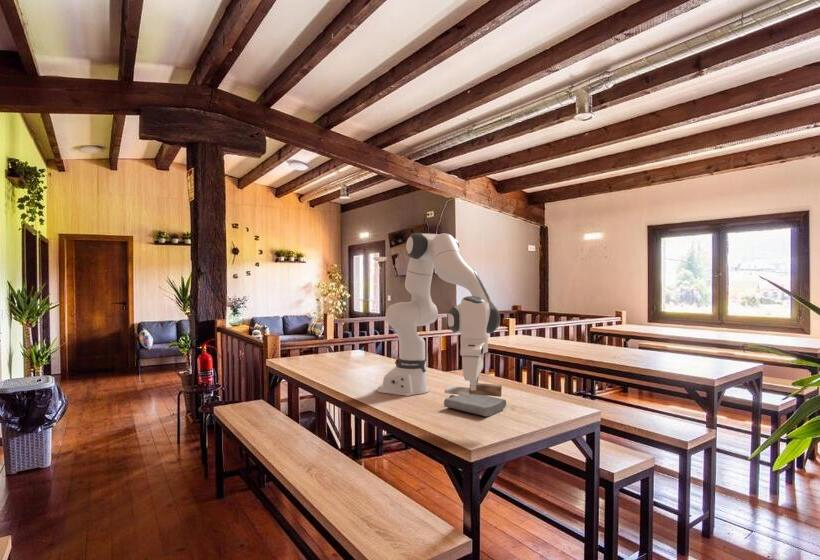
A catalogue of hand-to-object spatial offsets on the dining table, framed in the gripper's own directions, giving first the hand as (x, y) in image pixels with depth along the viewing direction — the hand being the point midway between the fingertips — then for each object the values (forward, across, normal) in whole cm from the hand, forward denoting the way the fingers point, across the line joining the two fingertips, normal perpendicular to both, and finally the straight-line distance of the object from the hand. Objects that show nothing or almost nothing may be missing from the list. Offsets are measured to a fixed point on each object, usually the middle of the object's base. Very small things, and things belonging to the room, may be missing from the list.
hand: (474, 388), depth 150 cm
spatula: (+2, 0, 0) cm, 2 cm away
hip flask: (+12, -19, +5) cm, 23 cm away
